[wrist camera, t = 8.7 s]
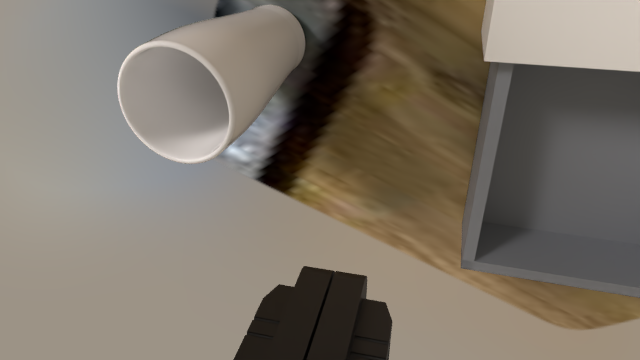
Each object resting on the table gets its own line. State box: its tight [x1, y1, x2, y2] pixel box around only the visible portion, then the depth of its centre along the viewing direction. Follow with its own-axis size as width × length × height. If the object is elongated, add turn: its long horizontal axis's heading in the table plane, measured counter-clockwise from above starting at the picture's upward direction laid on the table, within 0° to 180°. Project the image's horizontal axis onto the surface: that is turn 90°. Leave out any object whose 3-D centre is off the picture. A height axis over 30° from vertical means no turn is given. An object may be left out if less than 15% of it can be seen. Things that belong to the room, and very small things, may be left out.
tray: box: [461, 62, 640, 298], centre depth 31 cm, size 18×14×6 cm
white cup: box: [117, 5, 305, 164], centre depth 30 cm, size 7×7×15 cm
